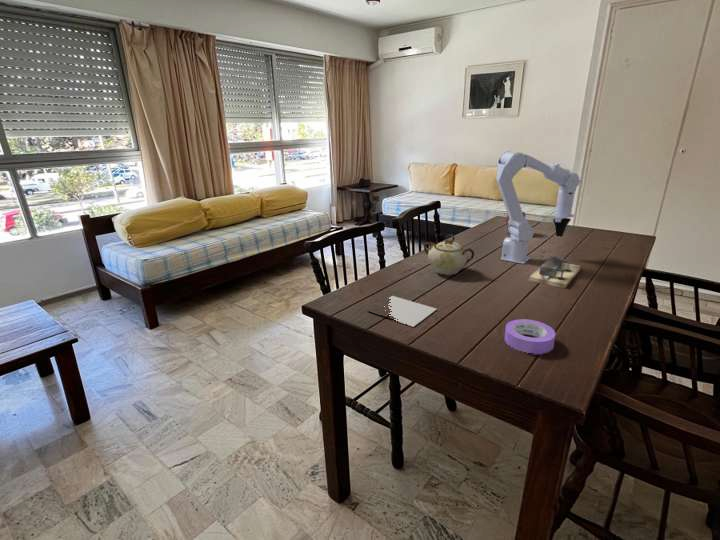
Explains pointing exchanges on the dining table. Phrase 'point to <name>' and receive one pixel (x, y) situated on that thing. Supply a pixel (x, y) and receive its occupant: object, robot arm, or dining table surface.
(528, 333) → the masking tape
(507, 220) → the mechanical component
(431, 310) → the paper stack
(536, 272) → the hole board
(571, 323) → the dining table surface
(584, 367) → the dining table surface
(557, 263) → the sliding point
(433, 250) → the cream teapot
